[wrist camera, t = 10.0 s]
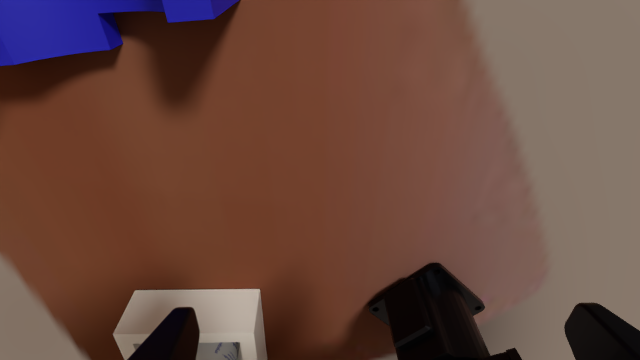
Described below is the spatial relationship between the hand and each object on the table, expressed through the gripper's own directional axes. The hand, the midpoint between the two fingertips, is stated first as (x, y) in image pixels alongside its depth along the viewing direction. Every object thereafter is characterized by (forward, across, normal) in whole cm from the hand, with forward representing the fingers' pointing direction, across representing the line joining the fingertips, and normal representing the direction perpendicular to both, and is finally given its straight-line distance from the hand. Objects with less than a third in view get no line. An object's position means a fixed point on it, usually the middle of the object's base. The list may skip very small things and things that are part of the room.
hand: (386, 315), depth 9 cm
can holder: (+13, +10, +18) cm, 25 cm away
